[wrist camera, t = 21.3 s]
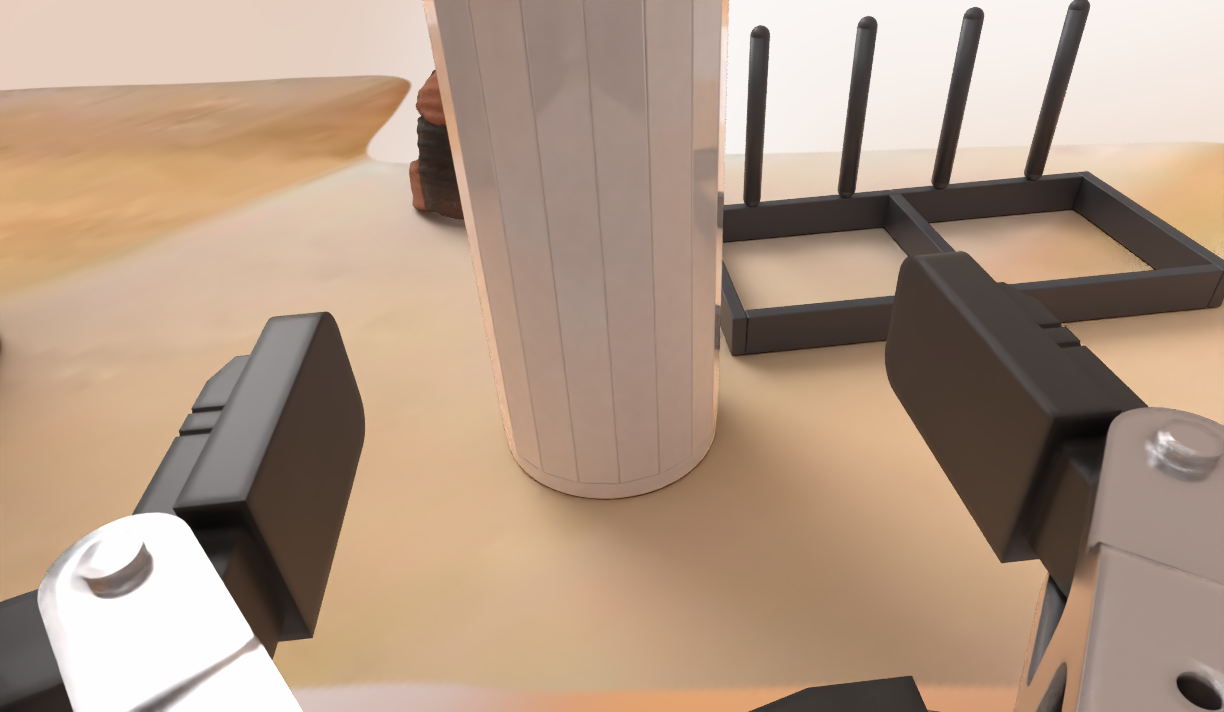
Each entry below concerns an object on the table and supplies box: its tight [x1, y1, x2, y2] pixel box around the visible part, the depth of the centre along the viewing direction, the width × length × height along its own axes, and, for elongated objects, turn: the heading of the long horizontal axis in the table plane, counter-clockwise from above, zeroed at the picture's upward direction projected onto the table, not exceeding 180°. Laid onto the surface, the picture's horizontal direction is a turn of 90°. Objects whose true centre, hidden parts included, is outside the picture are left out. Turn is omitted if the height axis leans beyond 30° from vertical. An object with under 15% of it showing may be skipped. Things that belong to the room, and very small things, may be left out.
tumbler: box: [423, 0, 729, 499], centre depth 20 cm, size 6×6×13 cm
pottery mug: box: [409, 70, 464, 220], centre depth 37 cm, size 12×10×8 cm
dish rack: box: [720, 0, 1224, 355], centre depth 27 cm, size 17×9×8 cm, turn 95°
